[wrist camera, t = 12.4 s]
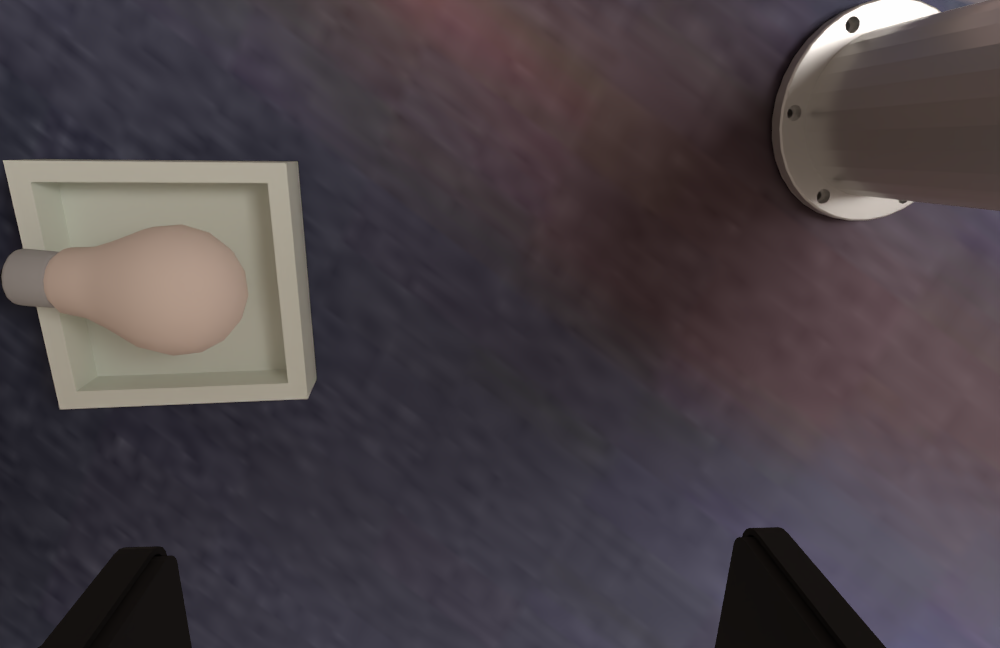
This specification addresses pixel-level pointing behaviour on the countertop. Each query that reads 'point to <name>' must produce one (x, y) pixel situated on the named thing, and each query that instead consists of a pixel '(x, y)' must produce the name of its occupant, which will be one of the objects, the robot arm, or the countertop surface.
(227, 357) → the tray
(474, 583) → the countertop surface
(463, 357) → the countertop surface
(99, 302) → the light bulb
